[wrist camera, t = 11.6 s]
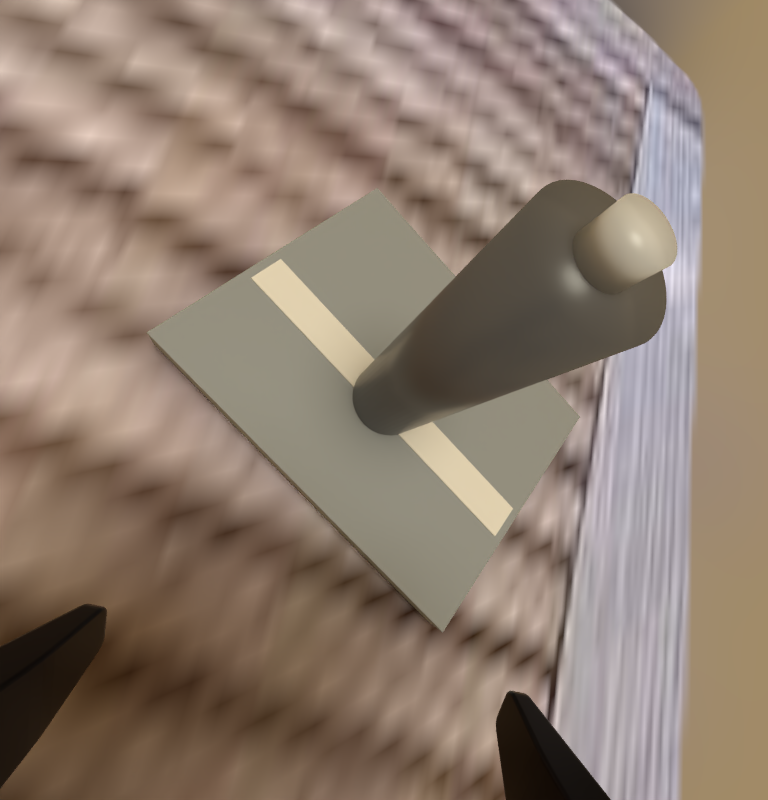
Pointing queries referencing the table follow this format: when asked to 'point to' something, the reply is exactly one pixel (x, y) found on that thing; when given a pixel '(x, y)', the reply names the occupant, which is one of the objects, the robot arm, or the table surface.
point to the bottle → (527, 308)
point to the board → (334, 410)
